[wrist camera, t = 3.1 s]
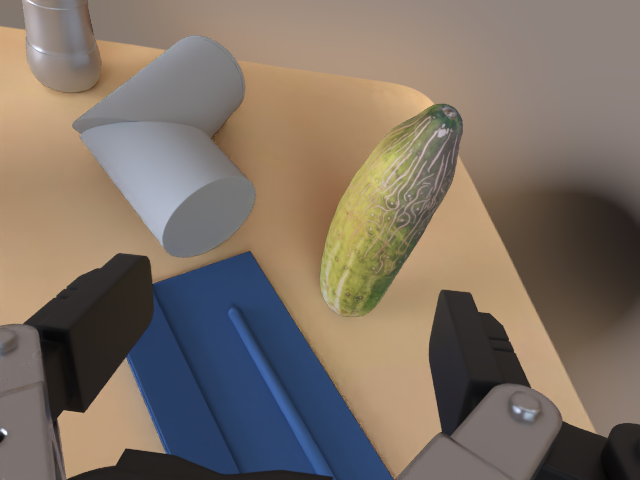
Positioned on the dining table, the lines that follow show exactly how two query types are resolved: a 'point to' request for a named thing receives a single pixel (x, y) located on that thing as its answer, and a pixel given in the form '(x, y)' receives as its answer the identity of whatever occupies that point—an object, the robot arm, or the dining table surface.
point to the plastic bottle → (61, 44)
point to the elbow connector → (175, 146)
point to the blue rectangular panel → (243, 380)
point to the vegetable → (388, 209)
